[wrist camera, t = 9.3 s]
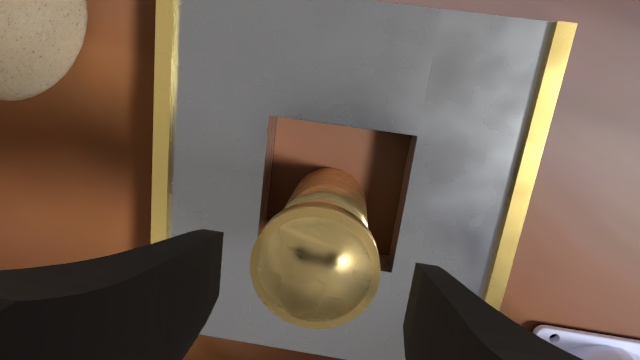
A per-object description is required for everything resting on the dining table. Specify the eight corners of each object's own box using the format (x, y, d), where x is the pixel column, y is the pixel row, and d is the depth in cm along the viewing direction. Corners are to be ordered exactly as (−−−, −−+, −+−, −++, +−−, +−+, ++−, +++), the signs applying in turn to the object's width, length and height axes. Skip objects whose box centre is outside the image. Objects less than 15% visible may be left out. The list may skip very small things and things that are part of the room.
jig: (551, 30, 19) (577, 23, 16) (467, 357, 23) (479, 386, 21) (179, -15, 20) (156, -27, 17) (167, 306, 24) (148, 329, 22)
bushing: (377, 168, 21) (390, 218, 13) (365, 248, 22) (370, 338, 14) (291, 157, 21) (254, 199, 14) (283, 237, 22) (245, 319, 15)
